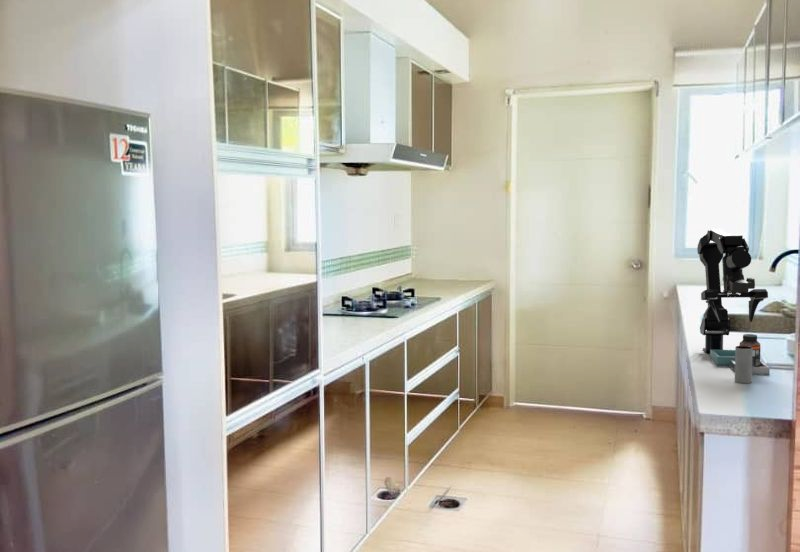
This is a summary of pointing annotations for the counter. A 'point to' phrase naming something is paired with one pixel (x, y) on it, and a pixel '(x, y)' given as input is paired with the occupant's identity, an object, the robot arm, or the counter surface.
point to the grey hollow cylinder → (743, 364)
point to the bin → (722, 357)
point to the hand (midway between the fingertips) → (735, 321)
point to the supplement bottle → (752, 342)
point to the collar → (755, 368)
